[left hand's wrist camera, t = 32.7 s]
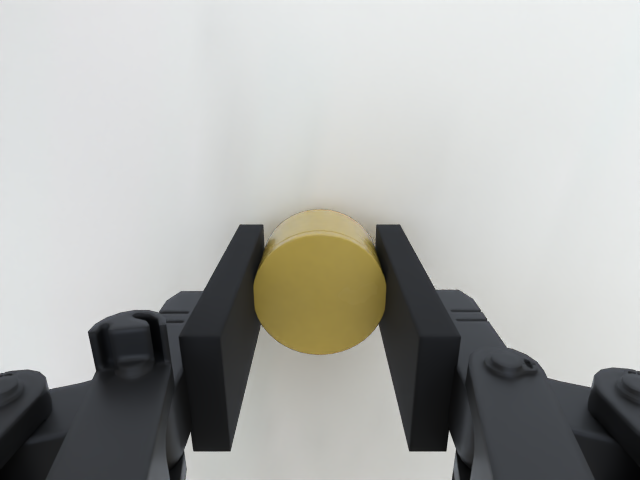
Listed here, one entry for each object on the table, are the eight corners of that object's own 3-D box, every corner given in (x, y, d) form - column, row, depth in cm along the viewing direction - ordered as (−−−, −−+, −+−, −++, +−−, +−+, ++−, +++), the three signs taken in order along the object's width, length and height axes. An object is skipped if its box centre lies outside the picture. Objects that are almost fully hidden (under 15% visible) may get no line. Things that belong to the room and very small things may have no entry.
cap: (363, 321, 15) (371, 363, 13) (256, 304, 15) (244, 344, 13) (388, 219, 14) (401, 247, 12) (271, 199, 14) (261, 223, 11)
